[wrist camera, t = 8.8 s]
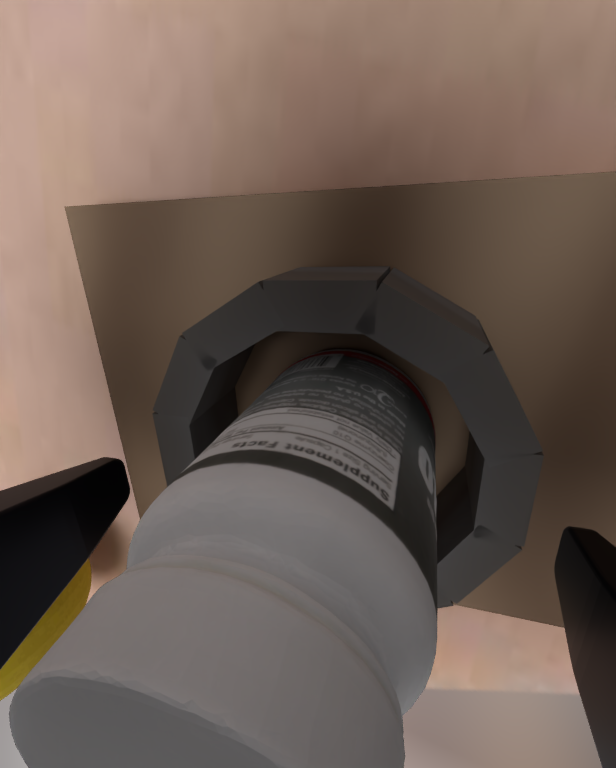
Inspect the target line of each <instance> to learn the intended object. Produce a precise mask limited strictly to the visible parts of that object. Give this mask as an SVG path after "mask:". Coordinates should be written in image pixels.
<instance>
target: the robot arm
mask: <svg viewBox="0 0 616 768" xmlns="http://www.w3.org/2000/svg"><path fill="white" fill-rule="evenodd" d="M129 494H130V486H129V482H128V478H127V474H126V470H125V466H124V463H123V462H122V461H121V460H119V459H115V458H109V457H103V458H100V459H97V460H93V461H90V462H87V463H84V464H81V465H78V466H75V467H72V468H69V469H66V470H63V471H60V472H57V473H54V474H51V475H48V476H45V477H41V478H38V479H35V480H32V481H29V482H26V483H23V484H20V485H17V486H14V487H11V488H8V489H5V490H2V491H0V670H1V669H2V667H3V666H4V665H5V664H6V662H7V661H8V660H9V659H10V657H11V656H12V655H13V653H14V652H15V651H16V650H17V648H18V647H19V646H20V645H21V643H22V642H23V641H24V640H25V638H26V637H27V636H28V634H29V633H30V632H31V631H32V629H33V628H34V627H35V626H36V624H37V623H38V622H39V620H40V619H41V618H42V617H43V615H44V614H45V613H46V612H47V610H48V609H49V608H50V607H51V605H52V604H53V603H54V601H55V600H56V599H57V598H58V596H59V595H60V594H61V593H62V591H63V590H64V589H65V588H66V586H67V585H68V584H69V582H70V581H71V580H72V579H73V577H74V576H75V575H76V574H77V572H78V571H79V570H80V569H81V567H82V566H83V565H84V563H85V562H86V561H87V559H88V558H89V557H90V555H91V554H92V552H93V551H94V549H95V548H96V547H97V545H98V544H99V542H100V540H101V539H102V537H103V536H104V534H105V533H106V531H107V530H108V528H109V527H110V525H111V524H112V522H113V521H114V519H115V518H116V516H117V515H118V513H119V512H120V510H121V509H122V507H123V506H124V504H125V503H126V501H127V499H128V497H129ZM554 574H555V580H556V586H557V591H558V596H559V601H560V606H561V612H562V617H563V622H564V627H565V632H566V638H567V643H568V648H569V653H570V658H571V663H572V667H573V672H574V675H575V679H576V683H577V686H578V690H579V693H580V696H581V699H582V703H583V706H584V709H585V712H586V716H587V719H588V722H589V725H590V729H591V732H592V735H593V738H594V742H595V745H596V748H597V751H598V755H599V758H600V761H601V765H602V768H616V547H615V546H614V545H613V544H612V543H610V542H609V541H608V540H607V539H605V538H604V537H603V536H602V535H600V534H599V533H598V532H596V531H594V530H592V529H586V528H579V527H573V526H568V527H566V528H565V529H564V530H563V532H562V536H561V540H560V544H559V548H558V552H557V555H556V559H555V565H554Z"/></svg>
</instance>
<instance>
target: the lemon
mask: <svg viewBox="0 0 616 768" xmlns="http://www.w3.org/2000/svg"><path fill="white" fill-rule="evenodd" d="M90 587H91V565H90V561H89V558H88V559H87V561H86V562H85V563H84V565H83V566H82V567H81V569H80V570H79V571H78V572H77V574H76V575H75V576H74V577H73V579H72V580H71V581H70V582H69V584H68V585H67V586H66V588H65V589H64V590H63V591H62V593H61V594H60V595H59V596H58V598H57V599H56V600H55V601H54V603H53V604H52V605H51V607H50V608H49V609H48V610H47V612H46V613H45V614H44V615H43V617H42V618H41V619H40V620H39V622H38V623H37V624H36V626H35V627H34V628H33V629H32V631H31V632H30V633H29V634H28V636H27V637H26V638H25V640H24V641H23V642H22V643H21V645H20V646H19V647H18V648H17V650H16V651H15V652H14V653H13V655H12V656H11V657H10V659H9V660H8V661H7V662H6V664H5V665H4V666H3V667H2V669H1V670H0V701H1V700H2V699H3V698H5V697H6V696H8V695H9V694H10V693H11V692H13V691H14V690H15V689H17V688H18V686H19V685H20V684H21V682H22V681H23V680H24V678H25V677H26V676H27V675H28V674H29V672H30V671H31V670H32V669H33V668H34V667H35V665H36V664H37V663H38V662H39V661H40V660H41V658H42V657H43V656H44V655H45V654H46V653H47V652H48V650H49V649H50V648H51V647H52V646H53V645H54V643H55V642H56V641H57V640H58V639H59V638H60V636H61V635H62V634H63V633H64V632H65V631H66V630H67V628H68V627H69V626H70V625H71V623H72V622H73V621H74V620H75V618H76V617H77V616H78V615H79V613H80V612H81V611H82V610H83V608H84V607H85V605H86V602H87V598H88V595H89V592H90Z"/></svg>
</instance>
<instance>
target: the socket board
mask: <svg viewBox="0 0 616 768" xmlns="http://www.w3.org/2000/svg"><path fill="white" fill-rule="evenodd" d="M65 211H66V215H67V219H68V223H69V227H70V231H71V235H72V240H73V244H74V248H75V252H76V256H77V260H78V264H79V269H80V273H81V277H82V281H83V285H84V289H85V293H86V297H87V302H88V306H89V310H90V314H91V318H92V322H93V326H94V330H95V335H96V339H97V343H98V347H99V351H100V355H101V359H102V364H103V368H104V372H105V376H106V380H107V384H108V388H109V392H110V397H111V401H112V405H113V409H114V413H115V417H116V421H117V425H118V430H119V434H120V438H121V442H122V446H123V450H124V454H125V459H126V463H127V467H128V471H129V475H130V479H131V483H132V487H133V492H134V496H135V500H136V504H137V508H138V512H139V516H140V519H141V518H142V516H143V515H144V513H145V512H146V510H147V509H148V508H149V506H150V505H151V504H152V503H153V502H154V501H155V499H156V498H157V497H158V496H159V495H160V494H161V493H162V492H163V491H164V490H165V488H166V487H167V486H168V485H169V484H170V483H171V482H172V481H173V480H174V479H175V478H176V477H177V476H178V475H179V474H181V473H182V472H183V471H184V470H185V469H186V468H187V467H188V466H189V465H190V464H191V463H192V462H193V461H194V460H195V459H196V458H197V457H198V456H199V455H200V454H201V453H202V452H203V451H204V450H205V449H206V448H207V447H208V446H209V445H210V444H211V443H212V442H213V441H215V439H216V438H217V437H218V436H219V435H220V434H221V433H222V432H223V431H224V430H225V429H226V428H227V427H228V426H229V425H230V424H231V423H233V422H234V421H235V420H236V419H237V418H238V417H239V416H240V415H241V414H242V413H243V412H244V411H245V410H246V409H247V408H248V407H249V406H250V405H251V404H252V403H253V402H254V401H255V400H256V399H257V398H258V397H259V396H260V395H261V394H262V393H263V392H264V391H265V390H266V389H267V388H268V387H269V386H270V385H271V384H272V383H273V382H274V381H275V379H276V378H277V377H278V376H279V375H280V374H281V373H282V372H283V371H285V370H286V369H287V368H288V367H289V366H291V365H292V364H293V363H295V362H296V361H298V360H300V359H302V358H304V357H306V356H308V355H311V354H314V353H317V352H321V351H325V350H333V349H351V350H358V351H362V352H366V353H369V354H372V355H375V356H377V357H379V358H381V359H384V360H385V361H387V362H389V363H391V364H392V365H394V366H395V367H397V368H398V369H399V370H401V371H402V372H403V373H404V374H406V375H407V376H408V377H409V378H410V379H411V380H412V381H413V382H414V383H415V384H416V386H417V387H418V388H419V389H420V391H421V392H422V394H423V396H424V398H425V399H426V401H427V403H428V406H429V408H430V411H431V414H432V418H433V422H434V428H435V440H436V447H435V462H436V499H437V508H436V528H437V599H438V605H437V608H442V607H448V606H453V604H454V605H459V606H464V607H469V608H473V609H478V610H483V611H488V612H492V613H497V614H502V615H507V616H511V617H516V618H521V619H526V620H530V621H535V622H540V623H545V624H549V625H554V626H559V627H564V622H563V617H562V612H561V606H560V601H559V596H558V591H557V586H556V580H555V574H554V565H555V559H556V555H557V552H558V548H559V544H560V540H561V536H562V532H563V530H564V529H565V528H566V527H568V526H573V527H579V528H586V529H592V530H594V531H596V532H598V533H599V534H600V535H602V536H603V537H604V538H605V539H607V540H608V541H609V542H610V543H612V544H613V545H614V546H615V547H616V172H601V173H586V174H570V175H554V176H539V177H523V178H507V179H492V180H476V181H460V182H445V183H429V184H413V185H398V186H382V187H366V188H351V189H335V190H320V191H304V192H288V193H273V194H257V195H241V196H226V197H210V198H194V199H179V200H163V201H147V202H132V203H116V204H100V205H85V206H69V207H65ZM564 628H565V627H564Z"/></svg>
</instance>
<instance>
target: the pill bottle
mask: <svg viewBox="0 0 616 768" xmlns="http://www.w3.org/2000/svg"><path fill="white" fill-rule="evenodd" d="M435 447H436V440H435V428H434V422H433V418H432V414H431V411H430V408H429V406H428V403H427V401H426V399H425V398H424V396H423V394H422V392H421V391H420V389H419V388H418V387H417V386H416V384H415V383H414V382H413V381H412V380H411V379H410V378H409V377H408V376H407V375H406V374H404V373H403V372H402V371H401V370H399V369H398V368H397V367H395V366H394V365H392V364H391V363H389V362H387V361H385V360H384V359H381V358H379V357H377V356H375V355H372V354H369V353H366V352H362V351H358V350H351V349H333V350H325V351H321V352H317V353H314V354H311V355H308V356H306V357H304V358H302V359H300V360H298V361H296V362H295V363H293V364H292V365H291V366H289V367H288V368H287V369H286V370H285V371H283V372H282V373H281V374H280V375H279V376H278V377H277V378H276V379H275V381H274V382H273V383H272V384H271V385H270V386H269V387H268V388H267V389H266V390H265V391H264V392H263V393H262V394H261V395H260V396H259V397H258V398H257V399H256V400H255V401H254V402H253V403H252V404H251V405H250V406H249V407H248V408H247V409H246V410H245V411H244V412H243V413H242V414H241V415H240V416H239V417H238V418H237V419H236V420H235V421H234V422H233V423H231V424H230V425H229V426H228V427H227V428H226V429H225V430H224V431H223V432H222V433H221V434H220V435H219V436H218V437H217V438H216V439H215V441H213V442H212V443H211V444H210V445H209V446H208V447H207V448H206V449H205V450H204V451H203V452H202V453H201V454H200V455H199V456H198V457H197V458H196V459H195V460H194V461H193V462H192V463H191V464H190V465H189V466H188V467H187V468H186V469H185V470H184V471H183V472H182V473H181V474H179V475H178V476H177V477H176V478H175V479H174V480H173V481H172V482H171V483H170V484H169V485H168V486H167V487H166V488H165V490H164V491H163V492H162V493H161V494H160V495H159V496H158V497H157V498H156V499H155V501H154V502H153V503H152V504H151V505H150V506H149V508H148V509H147V510H146V512H145V513H144V515H143V516H142V518H141V519H140V521H139V523H138V526H137V528H136V530H135V532H134V535H133V537H132V540H131V543H130V546H129V552H128V559H127V569H126V570H125V571H124V572H123V573H122V574H121V575H119V576H118V577H116V578H114V579H112V580H111V581H109V582H107V583H105V584H104V585H103V586H102V587H100V588H99V589H98V590H97V591H96V593H95V594H94V595H93V596H92V597H91V599H90V600H89V601H88V603H87V604H86V606H85V607H84V608H83V610H82V611H81V612H80V613H79V615H78V616H77V617H76V618H75V620H74V621H73V622H72V623H71V625H70V626H69V627H68V628H67V630H66V631H65V632H64V633H63V634H62V635H61V636H60V638H59V639H58V640H57V641H56V642H55V643H54V645H53V646H52V647H51V648H50V649H49V650H48V652H47V653H46V654H45V655H44V656H43V657H42V658H41V660H40V661H39V662H38V663H37V664H36V665H35V667H34V668H33V669H32V670H31V671H30V672H29V674H28V675H27V676H26V677H25V678H24V680H23V681H22V682H21V684H20V685H19V686H18V688H17V690H16V692H15V694H14V697H13V699H12V703H11V705H10V712H9V718H10V727H11V732H12V736H13V739H14V742H15V745H16V747H17V749H18V750H19V752H20V754H21V756H22V758H23V759H24V761H25V763H26V764H27V766H28V767H29V768H404V760H405V751H404V739H403V720H402V716H403V715H404V714H405V713H406V712H407V711H408V710H409V709H410V708H411V707H412V706H413V705H414V703H415V702H416V700H417V699H418V697H419V696H420V695H421V693H422V692H423V690H424V689H425V686H426V684H427V681H428V679H429V676H430V674H431V670H432V667H433V663H434V659H435V655H436V643H437V605H438V599H437V528H436V508H437V499H436V462H435Z"/></svg>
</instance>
